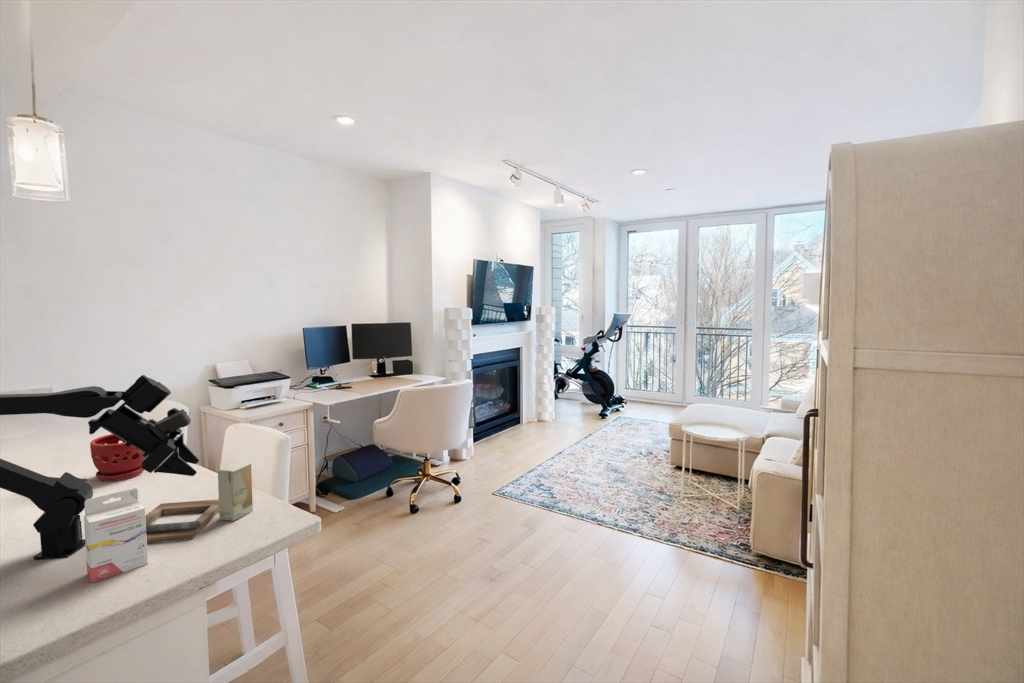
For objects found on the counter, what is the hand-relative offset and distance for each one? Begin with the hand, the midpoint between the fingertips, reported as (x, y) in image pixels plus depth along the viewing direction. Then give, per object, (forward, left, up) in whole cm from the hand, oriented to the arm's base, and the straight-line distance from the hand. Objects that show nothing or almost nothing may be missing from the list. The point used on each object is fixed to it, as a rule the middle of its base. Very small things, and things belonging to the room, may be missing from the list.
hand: (196, 468), depth 108 cm
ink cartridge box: (-18, +6, -13) cm, 24 cm away
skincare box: (+3, -7, -13) cm, 15 cm away
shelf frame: (+1, +5, -13) cm, 14 cm away
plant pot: (+38, +37, -13) cm, 55 cm away
